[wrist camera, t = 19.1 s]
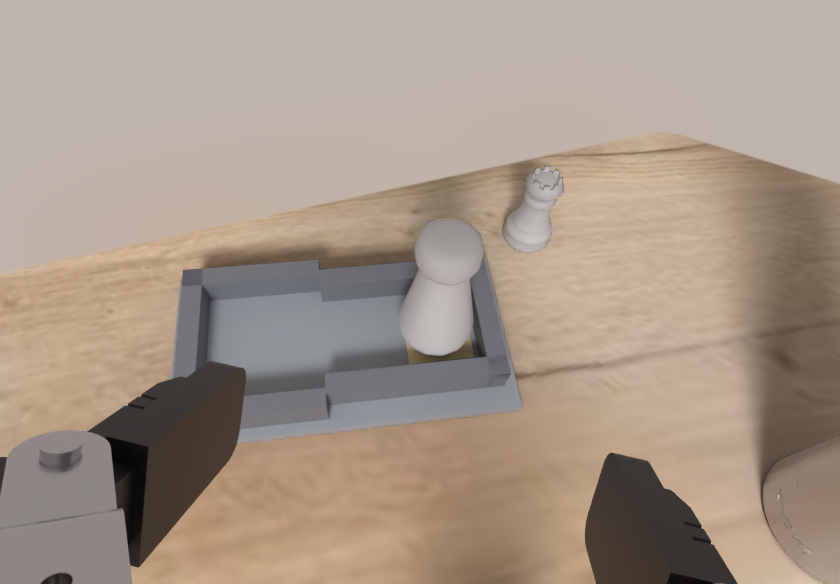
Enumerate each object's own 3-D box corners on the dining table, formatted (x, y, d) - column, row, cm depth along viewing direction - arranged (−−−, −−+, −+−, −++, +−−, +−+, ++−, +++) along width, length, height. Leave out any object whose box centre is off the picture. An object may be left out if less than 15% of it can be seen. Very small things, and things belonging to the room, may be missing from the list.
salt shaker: (392, 306, 45) (396, 204, 34) (460, 298, 46) (485, 196, 35) (404, 372, 42) (412, 283, 31) (475, 361, 43) (509, 272, 32)
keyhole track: (168, 452, 39) (151, 438, 36) (184, 286, 46) (170, 263, 43) (519, 410, 42) (530, 395, 39) (483, 261, 49) (490, 238, 46)
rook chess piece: (558, 245, 51) (585, 187, 44) (517, 262, 50) (539, 205, 43) (532, 211, 53) (555, 150, 46) (492, 226, 52) (510, 166, 45)
